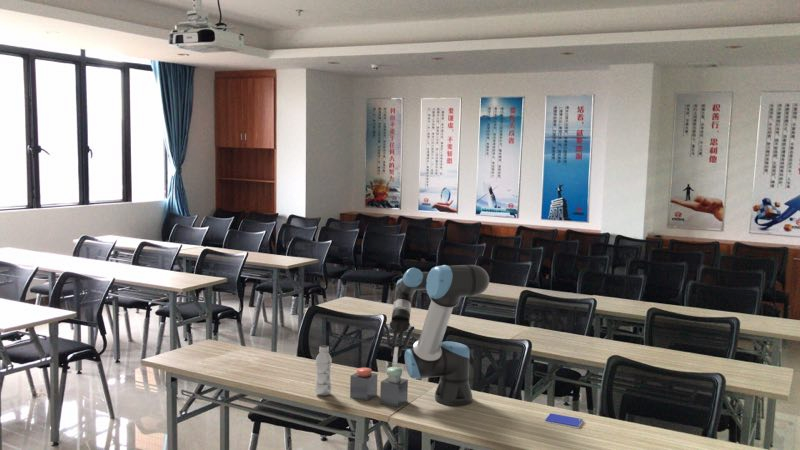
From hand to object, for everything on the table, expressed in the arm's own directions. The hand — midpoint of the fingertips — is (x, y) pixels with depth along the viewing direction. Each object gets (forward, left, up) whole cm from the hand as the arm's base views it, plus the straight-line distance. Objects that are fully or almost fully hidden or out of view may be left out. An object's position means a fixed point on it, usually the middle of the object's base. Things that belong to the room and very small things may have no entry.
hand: (394, 363), depth 273 cm
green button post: (0, 0, -16) cm, 16 cm away
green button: (0, 0, -12) cm, 12 cm away
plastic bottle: (+29, +7, -16) cm, 34 cm away
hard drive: (-64, -16, -17) cm, 68 cm away
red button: (+14, 0, -15) cm, 20 cm away
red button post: (+14, 0, -16) cm, 21 cm away
